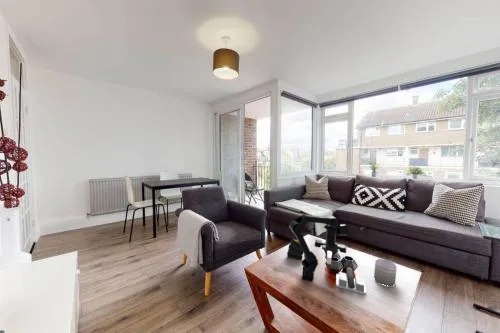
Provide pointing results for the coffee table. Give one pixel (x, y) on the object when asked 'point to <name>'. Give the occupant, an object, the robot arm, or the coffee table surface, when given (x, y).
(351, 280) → the lead
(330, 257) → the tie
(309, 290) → the coffee table surface
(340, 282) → the white twin post stand
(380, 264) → the can
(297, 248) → the magazine
